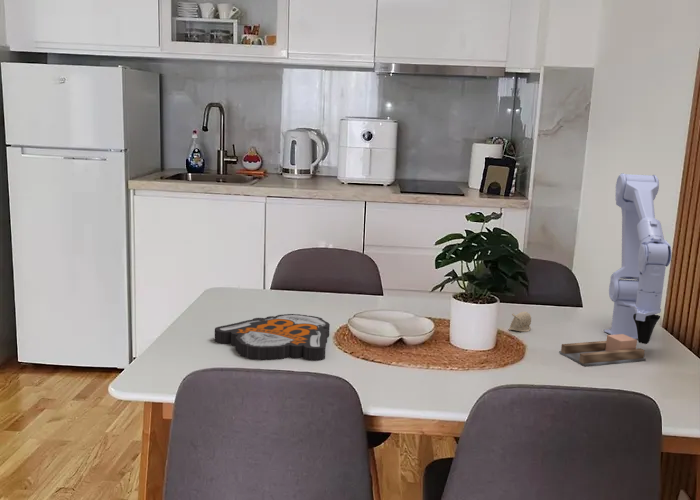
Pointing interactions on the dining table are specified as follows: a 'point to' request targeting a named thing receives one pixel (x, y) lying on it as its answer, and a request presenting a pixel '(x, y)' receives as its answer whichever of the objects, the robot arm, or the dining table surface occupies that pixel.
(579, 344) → the walnut chute
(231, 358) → the dining table surface
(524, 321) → the decorative ornament
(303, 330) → the decorative emblem
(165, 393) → the dining table surface
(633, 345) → the block
